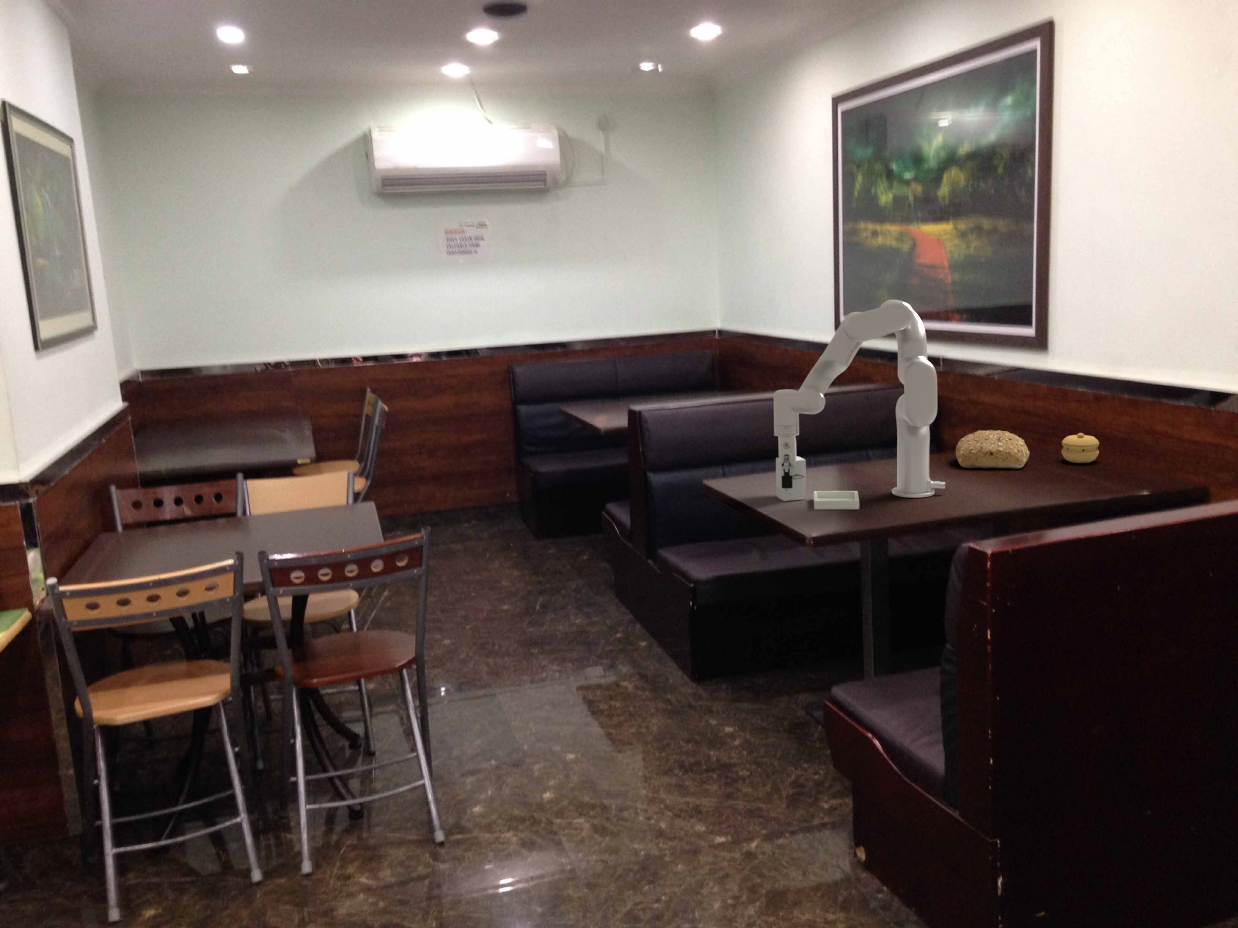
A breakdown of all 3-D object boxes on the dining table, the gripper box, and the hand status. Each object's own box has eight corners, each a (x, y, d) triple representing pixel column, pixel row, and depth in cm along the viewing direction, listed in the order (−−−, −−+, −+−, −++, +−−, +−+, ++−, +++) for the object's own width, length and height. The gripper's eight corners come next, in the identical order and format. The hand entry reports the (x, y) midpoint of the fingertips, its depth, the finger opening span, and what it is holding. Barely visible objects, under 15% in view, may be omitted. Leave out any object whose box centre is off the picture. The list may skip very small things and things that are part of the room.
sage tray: (857, 498, 316) (857, 490, 316) (859, 509, 304) (859, 500, 303) (814, 499, 319) (814, 491, 318) (814, 509, 306) (814, 501, 306)
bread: (955, 470, 350) (955, 435, 348) (955, 458, 370) (956, 425, 368) (1032, 471, 343) (1033, 436, 340) (1028, 459, 362) (1029, 425, 360)
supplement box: (783, 501, 317) (783, 461, 315) (776, 496, 325) (775, 457, 322) (806, 499, 319) (806, 459, 316) (798, 494, 326) (797, 455, 323)
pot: (1053, 461, 357) (1054, 432, 355) (1081, 457, 360) (1082, 429, 358) (1077, 466, 346) (1078, 437, 344) (1106, 463, 349) (1107, 434, 347)
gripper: (798, 434, 308) (799, 490, 312) (799, 425, 325) (800, 478, 328) (773, 435, 310) (774, 491, 313) (775, 425, 327) (776, 478, 330)
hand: (787, 484), depth 321 cm, fingers open, 9 cm apart
